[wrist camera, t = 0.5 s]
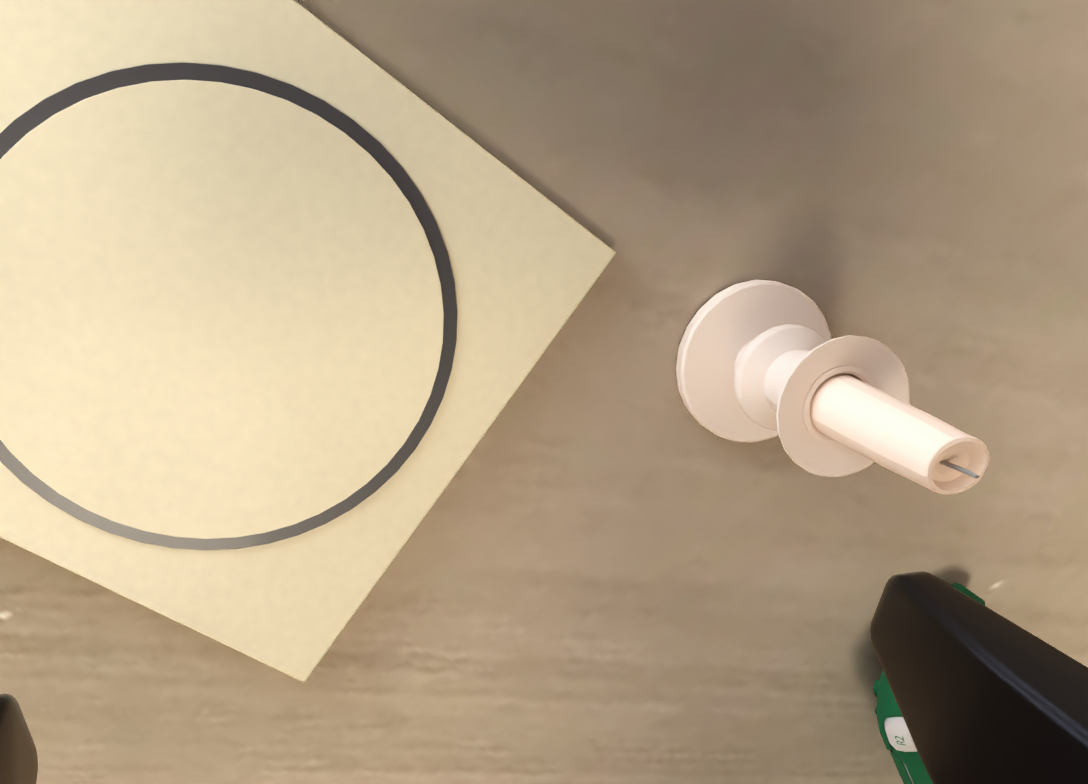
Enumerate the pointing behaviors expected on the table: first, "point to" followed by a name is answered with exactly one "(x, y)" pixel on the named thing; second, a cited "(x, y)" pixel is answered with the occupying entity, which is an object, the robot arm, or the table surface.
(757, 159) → the table surface
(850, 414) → the candle
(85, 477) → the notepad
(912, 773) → the gaming controller
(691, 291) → the table surface
